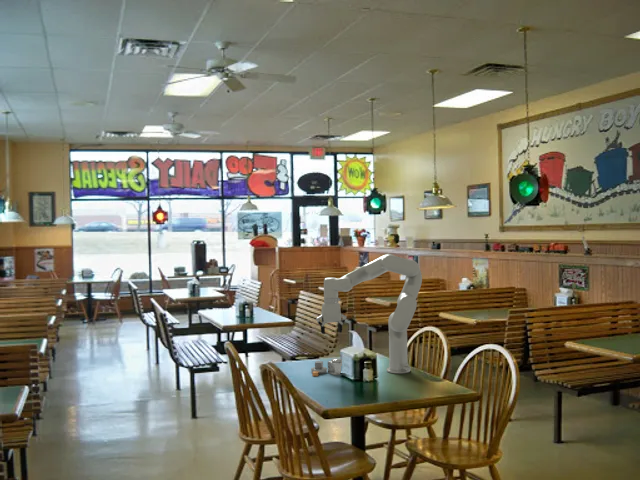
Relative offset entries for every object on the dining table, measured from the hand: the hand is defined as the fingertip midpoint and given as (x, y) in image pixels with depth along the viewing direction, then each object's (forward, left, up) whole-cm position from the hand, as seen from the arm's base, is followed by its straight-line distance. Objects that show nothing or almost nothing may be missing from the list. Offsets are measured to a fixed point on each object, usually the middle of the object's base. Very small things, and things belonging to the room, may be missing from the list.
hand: (331, 332), depth 333 cm
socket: (-4, 0, -21) cm, 21 cm away
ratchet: (+1, +8, -21) cm, 22 cm away
